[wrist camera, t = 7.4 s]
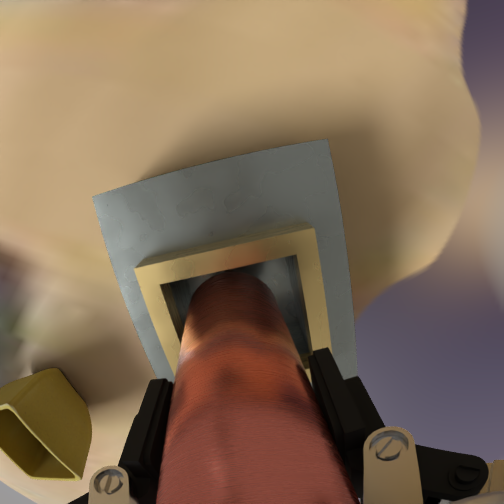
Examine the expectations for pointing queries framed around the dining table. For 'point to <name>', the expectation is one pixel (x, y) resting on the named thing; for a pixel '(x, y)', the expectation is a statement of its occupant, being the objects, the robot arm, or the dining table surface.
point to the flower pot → (45, 426)
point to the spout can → (245, 408)
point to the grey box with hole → (235, 247)
